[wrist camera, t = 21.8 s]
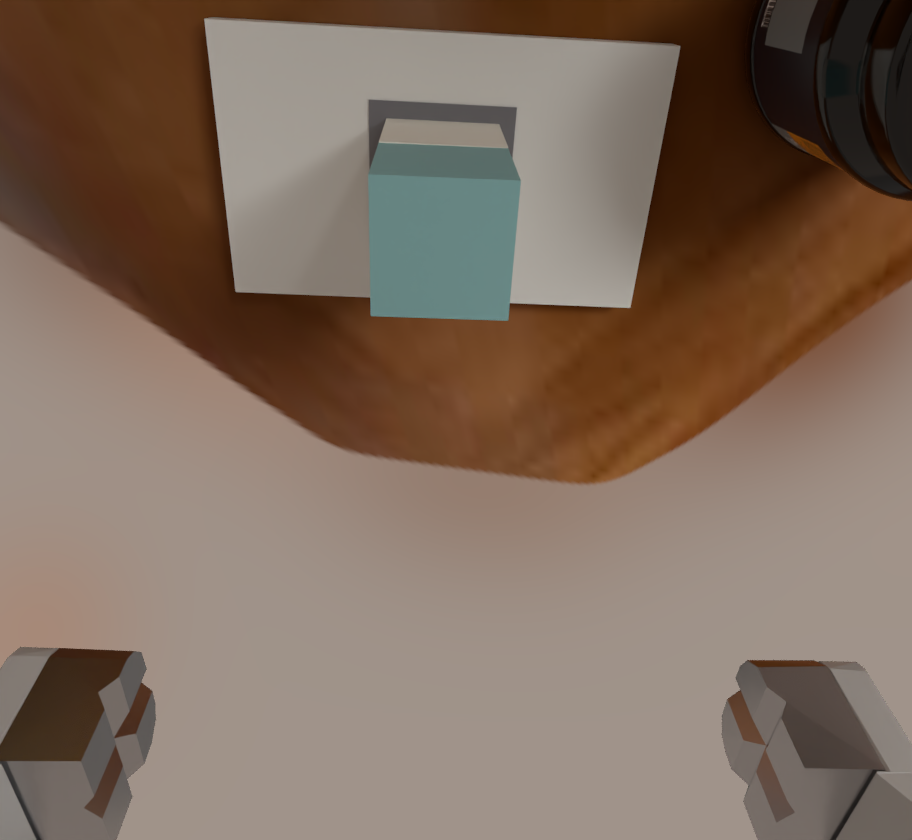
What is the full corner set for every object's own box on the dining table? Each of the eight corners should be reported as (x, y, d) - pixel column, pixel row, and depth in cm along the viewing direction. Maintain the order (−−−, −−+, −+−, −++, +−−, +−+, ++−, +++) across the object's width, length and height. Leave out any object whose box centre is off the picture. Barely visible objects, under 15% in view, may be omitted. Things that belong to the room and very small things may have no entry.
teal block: (508, 148, 28) (521, 180, 24) (498, 271, 31) (508, 320, 27) (378, 142, 28) (368, 174, 24) (379, 267, 31) (370, 316, 26)
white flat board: (672, 43, 32) (681, 46, 31) (625, 298, 38) (630, 308, 37) (211, 16, 31) (203, 18, 30) (240, 283, 37) (235, 292, 36)
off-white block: (499, 124, 32) (508, 147, 28) (490, 234, 35) (497, 271, 31) (386, 118, 32) (378, 141, 28) (386, 229, 35) (379, 266, 31)
